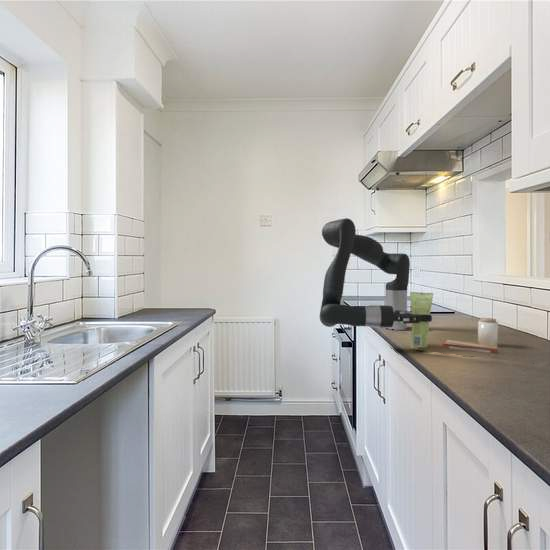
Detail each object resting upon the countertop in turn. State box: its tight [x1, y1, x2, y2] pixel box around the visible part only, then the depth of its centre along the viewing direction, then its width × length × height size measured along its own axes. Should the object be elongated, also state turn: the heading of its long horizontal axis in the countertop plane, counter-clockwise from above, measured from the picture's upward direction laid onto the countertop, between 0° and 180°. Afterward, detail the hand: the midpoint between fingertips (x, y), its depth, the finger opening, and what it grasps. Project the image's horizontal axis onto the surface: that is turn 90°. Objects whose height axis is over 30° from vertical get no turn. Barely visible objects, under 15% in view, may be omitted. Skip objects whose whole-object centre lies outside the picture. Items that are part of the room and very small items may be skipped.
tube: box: [409, 291, 434, 351], centre depth 131 cm, size 6×5×20 cm
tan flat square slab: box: [442, 339, 499, 354], centre depth 131 cm, size 15×16×2 cm
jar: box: [477, 317, 499, 347], centre depth 133 cm, size 6×6×9 cm
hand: (428, 317), depth 131 cm, fingers closed on tube, 4 cm apart
